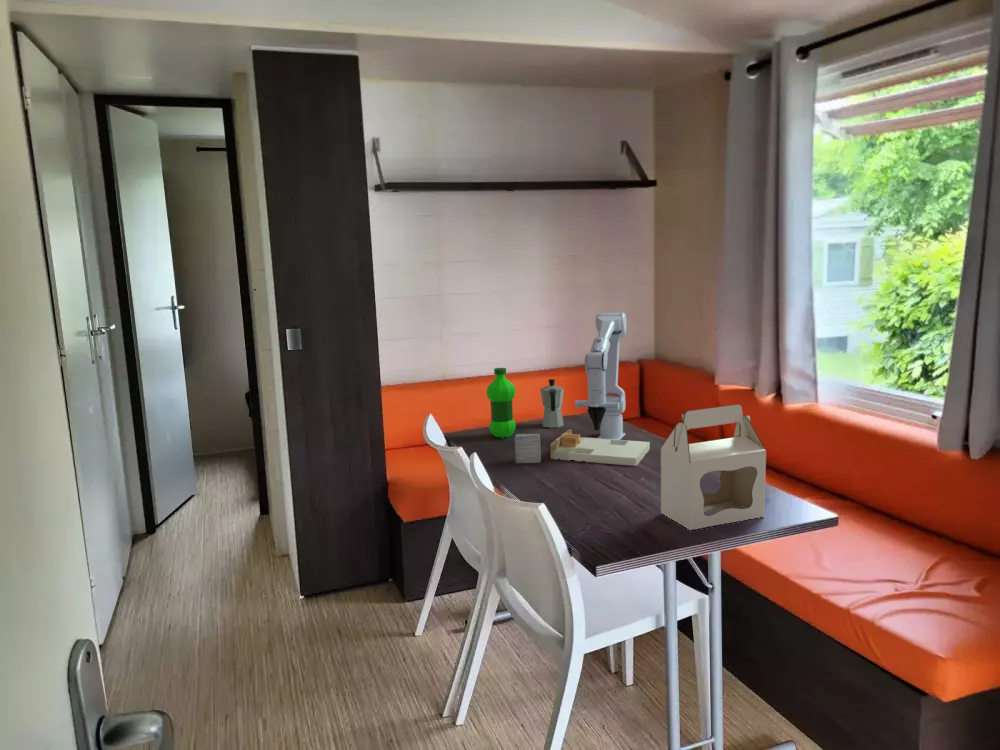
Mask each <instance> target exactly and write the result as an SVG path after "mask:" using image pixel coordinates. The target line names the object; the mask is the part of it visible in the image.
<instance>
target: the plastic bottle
mask: <svg viewBox="0 0 1000 750" xmlns="http://www.w3.org/2000/svg"><path fill="white" fill-rule="evenodd" d="M493 371H494V373H493V374H494V375H495V379H494V380H492V381H491V382H490V384H489V385H487V388H486V396H487V399H488V400H489V401H490V418H491V420H490V421H489V425H488V429H489V432H490V433H491V435H493V436H494V437H495V438H497V437H508V436H510V437H511V436H512V435H513V434H514V432H515V431H516V428H517V424H516V421H515V419H514V412H513V410H514V409H513V399H515V396H516V387H515V385H514V384H513V382H511V381H510V380H508V379H507V378H506V375H507V368H506V367H496V368H494V370H493ZM508 438H509V437H508Z"/></svg>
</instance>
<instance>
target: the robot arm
mask: <svg viewBox="0 0 1000 750" xmlns="http://www.w3.org/2000/svg"><path fill="white" fill-rule="evenodd" d="M595 327H596V330H597V333H598V335H597V337H596V338H594V339H593V341H592V344H591V347H590V350H589V352H588V353H586V354H585V356H584V367H585V375H586V376H587V400H586V399H585V400H575V401H574V408H586V409H587V408H588V409H587V414H588V416H589V417H590V419H591V421H592V424H593V428H594V431H600V435H598V437H597V438H599V439H613V440H623V438H624V437H625V435H626V432H624V424H623V423H624V421H623V419H624V418H623V415H622V414H623V413H624V412H625V410H626V403H627V402H626V392H625V390H624V389H623V388H622V387H620V386H619V385H618V382H619V361H620V344H621V339H623V338H625V337H626V333H627V315H626V313H625V312H623V311H622V312H598V313H597V314H596V316H595Z"/></svg>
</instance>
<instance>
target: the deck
mask: <svg viewBox="0 0 1000 750" xmlns="http://www.w3.org/2000/svg"><path fill="white" fill-rule="evenodd" d="M572 431H573V430H572V429H567V430H566V431H565V432H564V433H562V434H561V435H560V436H559V437H557V438H556V439H554V440H552V442H551V443H550V447H549V448H550V459H551V460H558V459H560V460H561V461H570V460H575V461H574V462H582V461H585V463H594V462H595V463H597V464H608V465H609V464H610V465H619V466H630V467H631V466H632V467H633V466H634V467H636V466H638V465H639V463H640V462H641V461H642V459H644V457H645V456H646V455H647V454H648V452H649V451H650V450H649V449H651V448H650V447H651V446H650V444H651V443H650V441H640V440H627V439H626V440H624V439H621V440H613V439H599V438H598V437H583V436H580V444H579V445H577V446H576V447H569V446H561V437H562V436H563V435H564V434H573V433H572ZM645 454H646V455H645ZM560 460H559V461H560Z"/></svg>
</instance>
